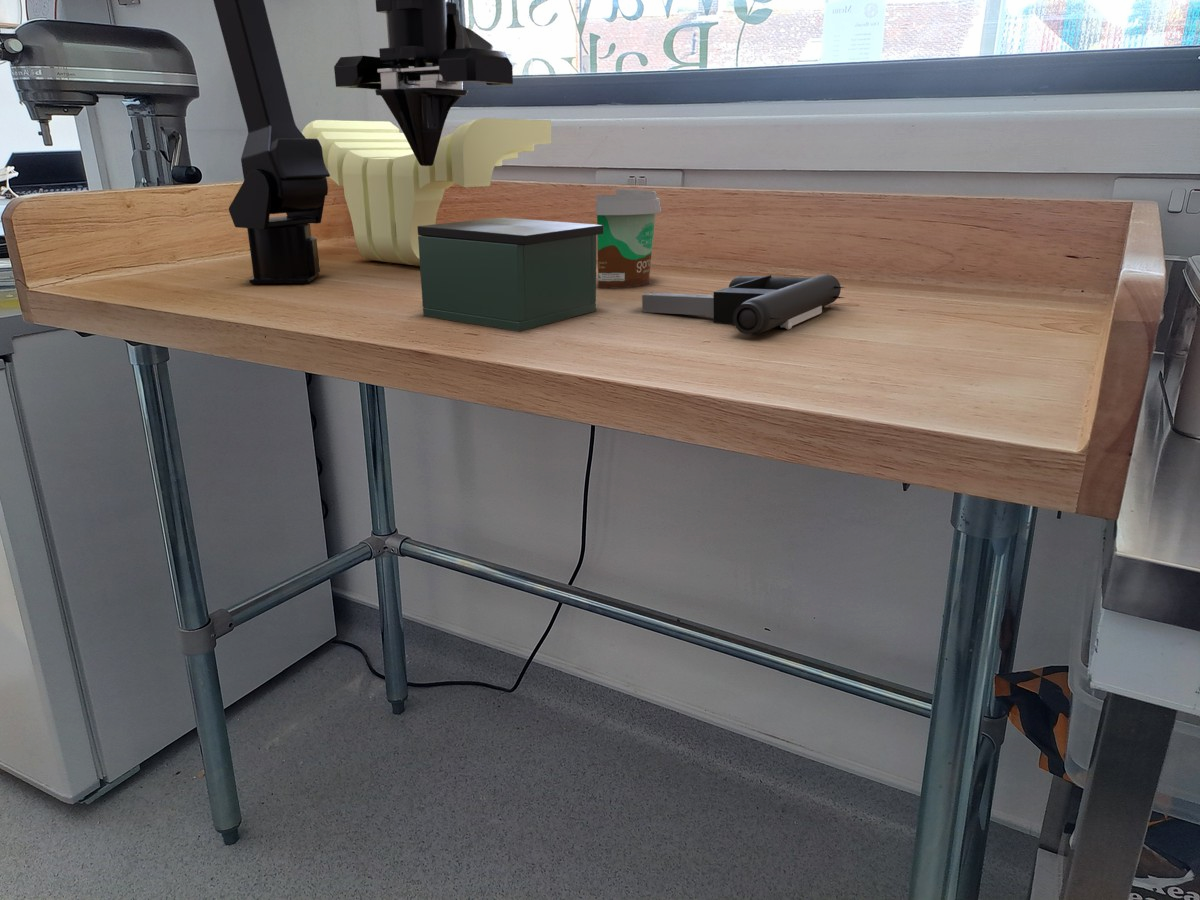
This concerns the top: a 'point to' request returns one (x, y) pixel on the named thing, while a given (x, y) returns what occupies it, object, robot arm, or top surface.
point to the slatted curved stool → (412, 174)
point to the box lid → (511, 230)
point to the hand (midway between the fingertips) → (426, 165)
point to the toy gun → (753, 301)
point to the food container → (625, 237)
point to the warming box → (507, 281)
